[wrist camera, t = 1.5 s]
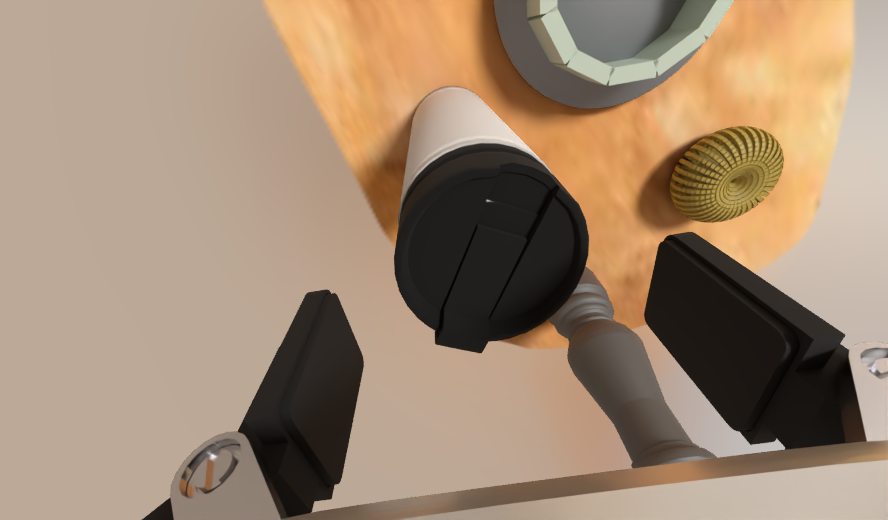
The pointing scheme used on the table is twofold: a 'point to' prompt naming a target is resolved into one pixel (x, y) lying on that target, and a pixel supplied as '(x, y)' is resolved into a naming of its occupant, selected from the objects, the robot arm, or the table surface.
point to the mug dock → (603, 44)
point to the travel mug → (482, 227)
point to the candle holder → (621, 378)
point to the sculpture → (726, 174)
